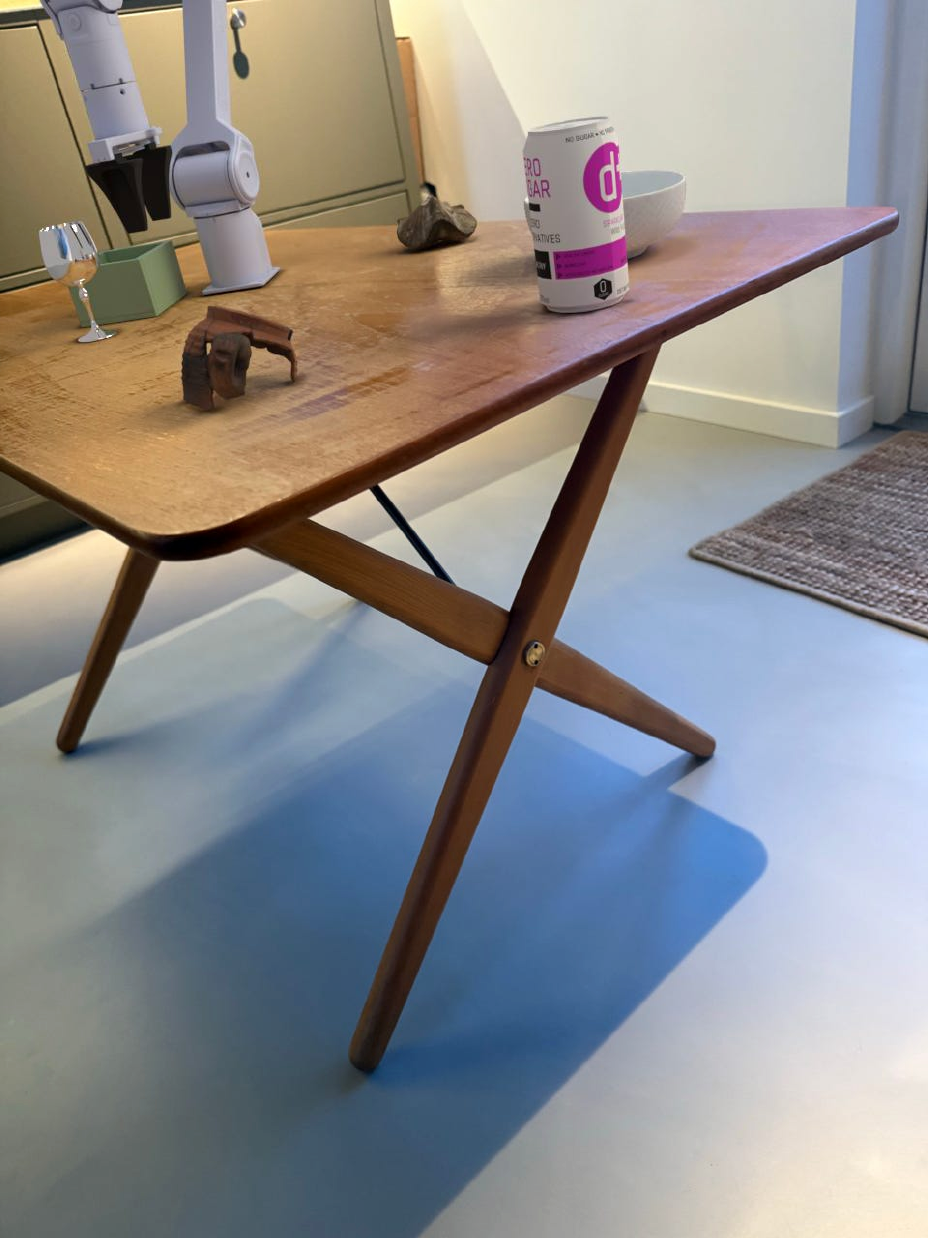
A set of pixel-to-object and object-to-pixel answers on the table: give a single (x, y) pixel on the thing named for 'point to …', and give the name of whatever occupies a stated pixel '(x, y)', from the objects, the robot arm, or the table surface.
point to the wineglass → (73, 265)
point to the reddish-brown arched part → (228, 353)
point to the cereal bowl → (646, 206)
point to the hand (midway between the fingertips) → (150, 225)
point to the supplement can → (577, 214)
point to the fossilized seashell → (435, 224)
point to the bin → (132, 284)
